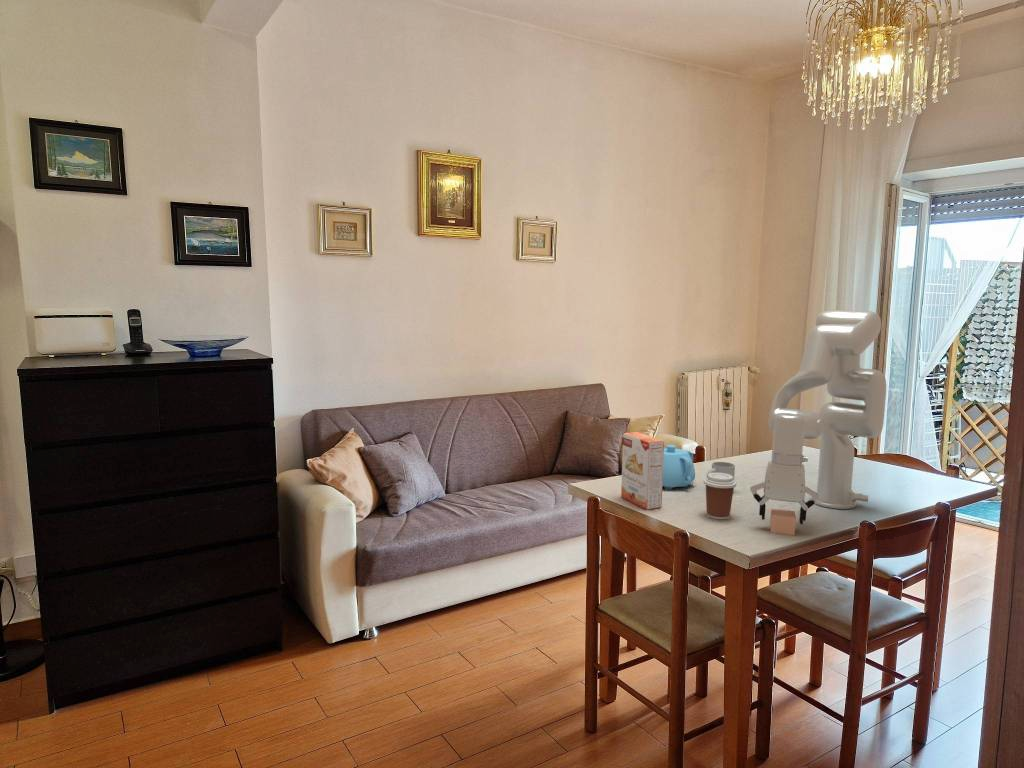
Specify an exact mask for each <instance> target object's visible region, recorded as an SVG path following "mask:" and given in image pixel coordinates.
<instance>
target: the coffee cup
mask: <svg viewBox="0 0 1024 768" xmlns="http://www.w3.org/2000/svg"><path fill="white" fill-rule="evenodd" d="M706 477H707V478H706ZM706 477H705V478H704V479H703V484H704V485H705V501H706V502H705V505H706V516H707V517H708V518H709V519H713V520H728V519H730V517H731V510H732V502H733V495H734V489H735V487H737V482H736V481H735V479H734V480H733V477H732V476H731V475H729V474H725V473H709V474H708V475H707V474H706Z"/></svg>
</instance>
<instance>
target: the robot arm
mask: <svg viewBox="0 0 1024 768" xmlns="http://www.w3.org/2000/svg"><path fill="white" fill-rule="evenodd" d="M881 328H882V320H881V317H880V316H879V314H878V313H876V312H875V311H871V310H846V309H844V310H842V309H837V310H836V309H833V310H825V311H821V312H819V313H818V314H817V316H816V317H815V326H814V327H812V328H811V329H810V331H809V333H808V337H807V340H806V343H805V347H804V351H803V354H802V358H801V362H800V366H799V368H798V371H797V373H795V375H794V376H792V377H791V378H789V379H788V380H787V381H786V382H785V383H784V384H783V385H782V386H781V387H780V388H779V389H778V391H777V392H776V394H775V395H774V398H773V400H772V404H771V407H770V411H769V415H768V427H769V430H771V432H772V433H773V436H772V451H771V460H770V461H768V463H767V465H766V470H765V477H764V481H762V482H760V483H757V484H754V485H751V486H750V487H749V489H750V491H751V494H752V496H753V499H755V501H757V503H758V504H759V512H758V514H759V516H761V520H762V521H763V520H765V518H766V503H767V502H769V500H772V501H779V502H781V501H782V502H789V503H798V504H799V505H800V506H801V507H800V508H799V521H798V522H799V524H800V525H803V524H804V522H806V521H807V511H808V510H809V509H810V508H811V507H813V506H814V505H817V506H821V507H824V508H825V507H826V508H829V509H838V510H839V509H840V510H849V509H854V508H855V507H857V501H858V502H863V503H864V502H866V503H868V502H869V495H867V494H865V495H864V494H863V493H855V492H854V491H853V490H852V484H853V474H854V473H853V471H854V464H855V463H854V462H855V446H854V443H853V441H852V440H851V439H850V437H849V436H854V437H860V438H866V439H875V438H878V437H879V436H880V435H881V433H882V432H883V429H884V422H885V413H886V411H885V409H886V397H887V396H886V395H887V381H886V380H887V379H886V376H885V374H884V373H883V372H882V371H880V370H878V369H872V368H861V366H860V365H861V363H860V362H861V354H862V353H864V351H865V350H867V349H868V348H869V347H870V345H872V343H874V341H875V340H876V339H877V337H878V336H879V334H880V332H881ZM825 385H826V391H827V393H828V395H830V396H831V397H834V398H839V399H846V400H853V401H854V400H855V401H861V402H864V404H857V403H856V404H855V403H850V402H841V401H829V402H827V403H824V404H823V405H822V406H821V407H820V410H819V412H818V413H817V412H815V411H809V410H801V409H796V408H795V409H793V408H787V407H788V405H789V403H790V402H791V401H792V399H794V397H796V396H797V395H799V394H801V393H803V392H805V391H808V390H810V389H815V388H818V387H822V386H825ZM817 438H820V441H819V442H820V443H819V445H820V446H819V459H818V471H817V472H818V474H817V475H818V476H817V486H816V487H817V489H816V491H815V490H812V489H810V488H809V487H808V486H806V471H805V465H804V464H803V463H805V462H806V463H807V462H808V461H809V457H808V456H805V455H803V449H804V448H803V447H804V440H815V439H817ZM761 489H763V493H764V494H763V495H762V497H761V496H760V495H759V494H758V491H759V490H761ZM805 493H806V494H808V495H809V496H810V499H809V500H807V501H805V496H806V495H805Z"/></svg>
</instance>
